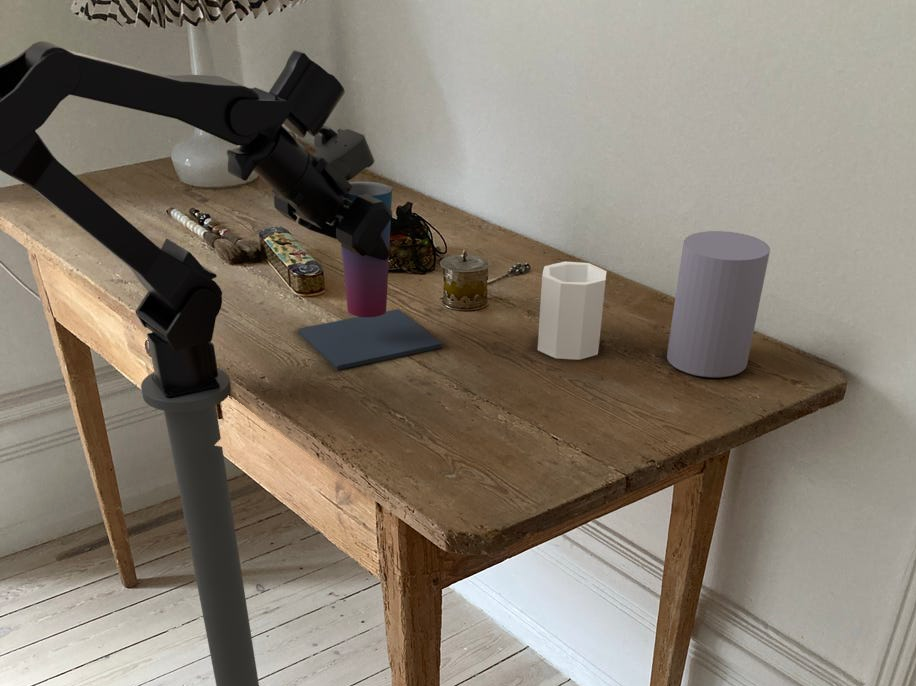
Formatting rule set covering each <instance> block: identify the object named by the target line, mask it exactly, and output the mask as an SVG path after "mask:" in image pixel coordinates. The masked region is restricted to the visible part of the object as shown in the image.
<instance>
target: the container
mask: <svg viewBox="0 0 916 686" xmlns="http://www.w3.org/2000/svg"><path fill="white" fill-rule="evenodd" d="M770 252H771V247H770V246H769V245H768V243H767V242H765V241H764V240H762V239H760V238H759V237H755V236H752V235H749V234H744V233H739V232H736V231H735V232H734V231H726V230H725V231H723V230H709V231H708V230H707V231H699V232H695V233H691V234H690V235H688V236H686V237H685V238H684V240H683V244H682V249H681V256H680V264H679V271H678V277H677V284H676V292H675V298H674V306H673V312H672V319H671V325H670V331H669V339H668V344H667V345H668V346H667V351H666V352H667V353H666V359H667V362H668V364H670V365H671V366H672V367H674V368H675V369H677V370H679V371H681V372H683V373H684V374H688V375H690V376H695V377H699V378H706V379H724V378H730V377H733V376H736V375H738V374H740V373H742V372H743V371H744V370H746V369H747V366H748V362H749V358H750V357H749V356H750V352H751V347H752V342H753V337H754V332H755V328H756V327H755V326H756V322H757V319H758V318H757V317H758V313H759V306H760V303H761V297H762V293H763V287H764V283H765V278H766V274H767V273H766V272H767V269H768V263H769V257H770Z"/></svg>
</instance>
